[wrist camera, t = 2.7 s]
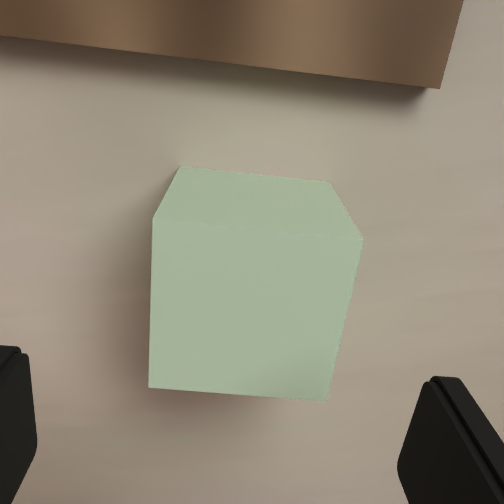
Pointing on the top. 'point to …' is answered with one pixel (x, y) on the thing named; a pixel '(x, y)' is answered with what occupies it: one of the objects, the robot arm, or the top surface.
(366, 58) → the base board
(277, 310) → the sage block
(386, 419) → the top surface
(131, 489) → the top surface
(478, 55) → the top surface
